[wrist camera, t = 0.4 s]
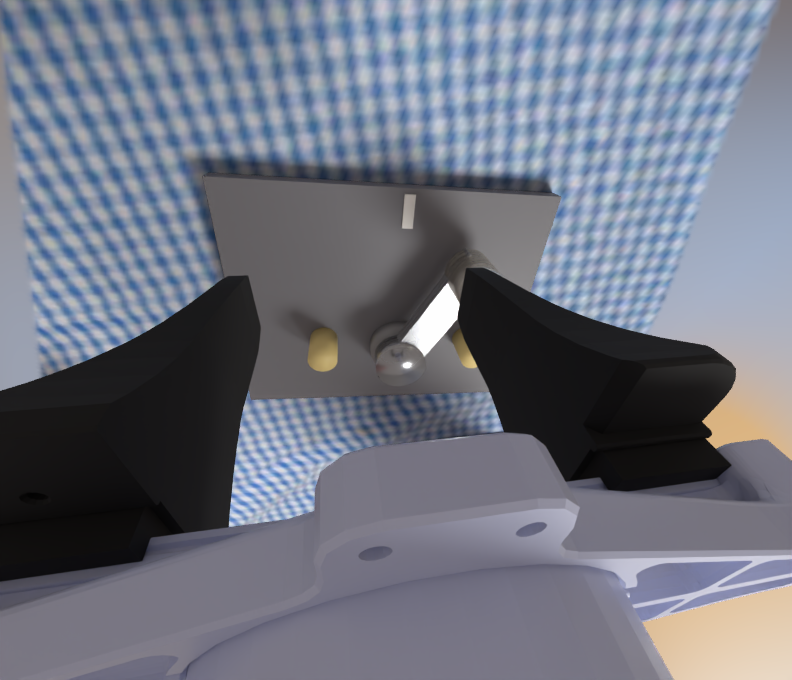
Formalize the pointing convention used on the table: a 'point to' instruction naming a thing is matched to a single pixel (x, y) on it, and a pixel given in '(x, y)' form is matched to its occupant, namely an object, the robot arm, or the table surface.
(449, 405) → the table surface
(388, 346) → the crank
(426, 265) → the base
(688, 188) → the table surface
